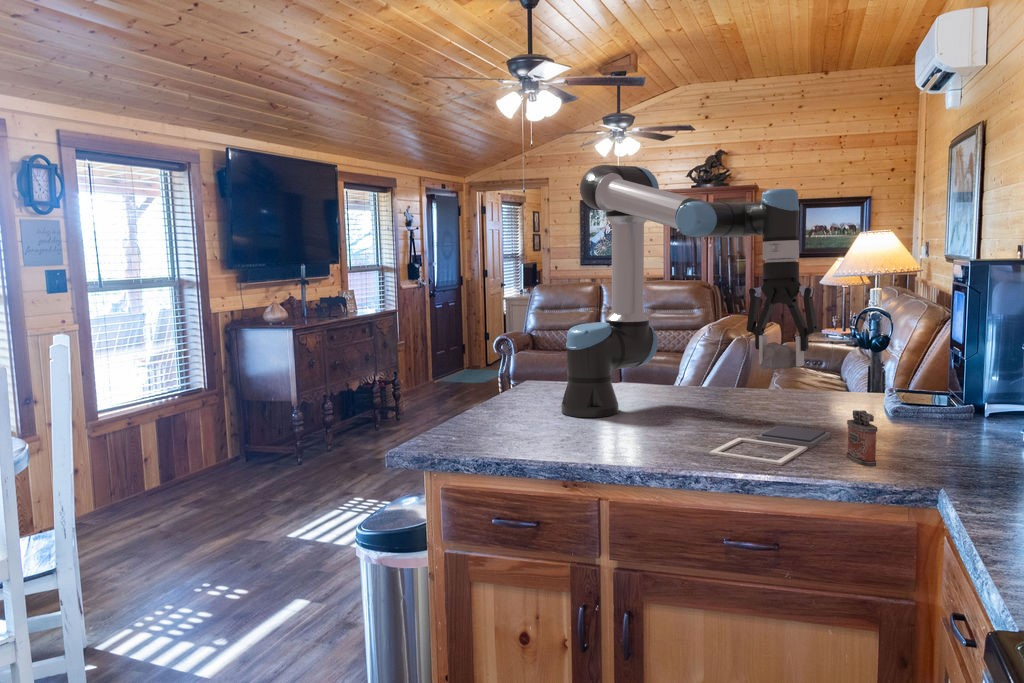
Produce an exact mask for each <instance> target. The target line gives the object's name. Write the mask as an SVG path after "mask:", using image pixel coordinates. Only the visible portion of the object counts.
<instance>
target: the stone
mask: <svg viewBox="0 0 1024 683" xmlns="http://www.w3.org/2000/svg"><path fill="white" fill-rule="evenodd" d="M759 368H760V369H761V370H768V369H769V370H783V369H784V370H787V369H792V368H797V367H796V349H794V348H793V349H792V348H791V347H790V346H789V345H786V344H782V343H778V342H775V341H773V342H767V345H766V347H765V351H764V358H763V359H762V363H761V365H759Z"/></svg>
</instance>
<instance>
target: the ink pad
mask: <svg viewBox="0 0 1024 683" xmlns="http://www.w3.org/2000/svg"><path fill="white" fill-rule="evenodd" d="M829 438H831V432H830V431H826V430H821V429H814V428H813V429H812V428H804V427H795V426H788V425H781V424H780V425H776V426H774V427H771V429H767V430H766V431H765V432H762V433H760V434H758V435H757V436H756V440H760V441H768V442H775V443H782V444H790V445H797V446H805V447H808V449H809V448H810V449H813V448H815V447H817V446H818V445H820V444H822V443H823V442H824V441H826V440H828V439H829Z"/></svg>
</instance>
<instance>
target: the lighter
mask: <svg viewBox="0 0 1024 683" xmlns="http://www.w3.org/2000/svg"><path fill="white" fill-rule="evenodd" d="M852 418H853V419H848V420H846V425H847V452H846V453H845V454H846V456H845V457H846V459H848V460H850V462H853V463H855V464H857V465H859V466H863V467H866V468H869V467H870V468H875V467H877V459H876V454H877V451H876V450H877V449H876V448H877V432H878V427H877V426H876V425H874V424H872V423H871V422H874V420H875V419H874V418H875V416H874V415H873V414H871V413H869V412H867V410H863V409H862V410H859V409H858V410H857V409H854V410H852Z"/></svg>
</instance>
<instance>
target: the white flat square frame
mask: <svg viewBox="0 0 1024 683" xmlns="http://www.w3.org/2000/svg"><path fill="white" fill-rule="evenodd" d="M741 442H743V443H749V444H755V445H756V444H758V445H763V446H770V447H771V446H772V447H778V448H785V449H792V450H793V451H791V452H789V453H787V454H786V455H785V456H783V457H780V458H779V459H778V460H777V459H776V460H775V459H771V458H763V457H756V456H748V455H743V454H737V453H729V452H724V451H726V450H729V449H730V448H732V447H733V446H736V445H738V444H740V443H741ZM808 449H809V448H808V447H805V446H797V445H790V444H782V443H775V442H768V441H760V440H757V439H752V438H745V437H737V438H735V439H733V440H731V441H729V442H727V443H724V444H723V445H720V446H718V447H715V448H714V449H712V450H711V451H709V452H708V454H709V455H712V456H718V457H725V458H731V459H738V460H745V461H751V462H756V463H757V462H758V463H762V464H769V465H777V466H782V465H784V464H786V463H788V462H789V461H790V460H793V459H794V458H796V457H797V456H799V455H800V454H802V453H804V452H805V451H807V450H808Z"/></svg>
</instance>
